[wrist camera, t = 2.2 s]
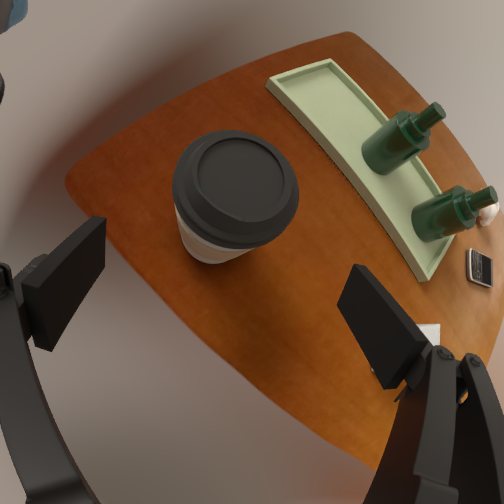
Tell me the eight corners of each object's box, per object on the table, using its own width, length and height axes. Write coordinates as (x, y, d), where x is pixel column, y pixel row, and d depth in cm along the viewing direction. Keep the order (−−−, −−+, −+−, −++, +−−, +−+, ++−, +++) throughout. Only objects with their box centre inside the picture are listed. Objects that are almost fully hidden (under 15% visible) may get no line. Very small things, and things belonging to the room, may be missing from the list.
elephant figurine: (472, 230, 46) (493, 222, 41) (462, 192, 48) (482, 182, 42) (484, 229, 48) (505, 222, 43) (475, 194, 50) (494, 185, 44)
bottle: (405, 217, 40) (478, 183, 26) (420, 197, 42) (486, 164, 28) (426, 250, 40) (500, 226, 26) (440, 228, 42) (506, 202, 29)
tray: (264, 86, 39) (268, 77, 37) (325, 65, 44) (330, 58, 42) (419, 282, 39) (428, 281, 37) (452, 227, 44) (460, 224, 42)
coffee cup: (203, 180, 33) (228, 95, 19) (266, 226, 34) (330, 167, 20) (154, 241, 30) (142, 181, 16) (222, 290, 31) (266, 270, 17)
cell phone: (464, 248, 44) (469, 246, 43) (488, 260, 47) (493, 259, 45) (464, 280, 43) (470, 279, 41) (489, 289, 45) (494, 288, 44)
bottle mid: (353, 148, 40) (415, 94, 26) (374, 134, 42) (430, 85, 28) (380, 182, 40) (449, 137, 26) (398, 165, 42) (460, 123, 28)
